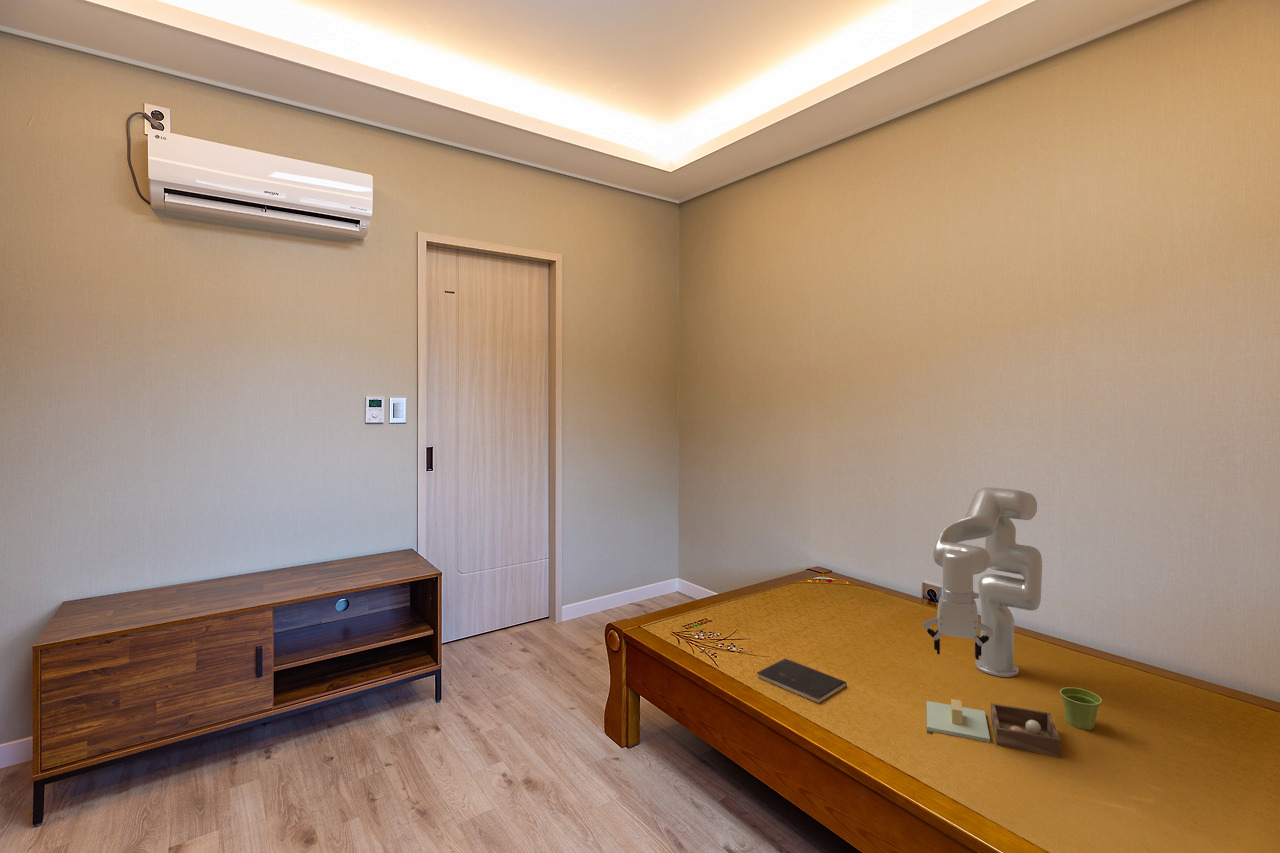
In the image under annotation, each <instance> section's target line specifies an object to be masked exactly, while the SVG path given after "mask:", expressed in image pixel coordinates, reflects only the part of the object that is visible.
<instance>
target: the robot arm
mask: <svg viewBox="0 0 1280 853" xmlns="http://www.w3.org/2000/svg"><path fill="white" fill-rule="evenodd" d="M1037 511H1038V502H1037V500H1036V497H1035V496H1034V495H1033V494H1032V493H1030V492H1026V491H1023V490H1019V489H1014V488H1013V489H1011V488H999V487H981V488H979V489H978V490H977V491H975V493H974V495H973V497H972V499H971V503H970V505H969V507H968V510H967V511H966V513H965V516H964V517H963V518H960V519H958V520H957V521H954V522H952V523H951V524H949V525H947V526H946V527H945V528H943V529H942V531H941V532H940V534H939V536H938V538H937V540H936V542H935V545H934V547H933V548H934V549H933V553H932V554H933V557H932V558H933V561H934V562H935V564H936V565H937V566H939V567H942V595H941V596H940V597H939V599H938V604H937V605H938V606H937V615H936V616H935V617H933V618H930V619H929V618H928V619H926V620H924V621H923V623H922V624H923V626H924V628H925V630H926V632H927V633H928V634H929V635H930V637H932V639H933V648H934V650H935V651H936V655H940V654H941V640H940V638H941V637H942V636H950V637H956V638H964V639H972V640H973V641H974V657H975V662H974V665H975V667H976V668H977V669H978V670H980V671H981V672H983V673H985V674H989V675H991V676H994V677H1000V678H1001V677H1003V678H1011V677H1013V678H1014V677H1015V676H1017V675H1019V672H1020V670H1019V667H1018V666H1017V664H1014V659H1015V658H1014V656H1015V655H1014V654H1015V652H1014V650H1015V649H1014V648H1015V647H1014V646H1015V618H1014V615H1013V613H1012V611H1011V610H1010V608H1014V609H1020V610H1025V611H1030V612H1031V611H1036V610H1038V609H1039V608H1040V606H1041V600H1042V578H1043V576H1042V575H1043V574H1042V573H1043V558H1042V554H1041V552H1040V550H1039V549H1038V548H1037V547H1034V546H1031V545H1025V544H1019V543H1017V542H1016V539H1017V537H1016V532H1017V529H1016V526H1015V524H1014V523H1013V520H1021V521H1031V520H1032V519H1034V518H1035V516H1036V514H1037ZM1012 519H1013V520H1012ZM983 538H985V544H984V546H985V547H984V548H983V547H981V546H977V545H971V544H965V543H961V542H964V541H973V540H977V539H983ZM988 569H991V570H994V571H999V572H1002V573H1003V572H1004V573H1007V574H1008V573H1010V574H1015V575H1020V576H1022V577H1023V578H1018V577H1013V576H1009V575H1004V574H1003V575H1002V574H996V573H986V574H983V575H982V576H981V577H980V578H979V580H978V583H977V584H978V586H977V587H978V592H975V591H974V575H978V574H982V573H984V572H985V571H987V570H988ZM975 599H979V600H980V621H979V615H978V614H979V613H978V607H977V601H976V600H975ZM1009 607H1010V608H1009ZM935 624H936V627H937V629H936V630H934V629H933V628H932V627H931V626H932V625H935ZM979 629H980V635H979Z"/></svg>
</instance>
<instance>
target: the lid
mask: <svg viewBox="0 0 1280 853" xmlns="http://www.w3.org/2000/svg"><path fill="white" fill-rule="evenodd" d="M926 704H927V715H926V731H927V730H928V731H933V733H937V732H938V734H942V733H943V735H947V734H949V736H953V735H954V737H958V736H959V738H963V737H964V738H965V739H968V738H969V740H973V739H974V741H978V740H980V742H984V741H985V742H984V743H989V742H990V743H991V738H990V732H989V727H988V721H987V718H986V712H985V710H982V709H975V708H971V707H965V706H962V700H959V699H954V698H951V699H950V704H946V703H941V702H937V701H932V700H931V701H929V700H926Z"/></svg>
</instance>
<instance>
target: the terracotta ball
mask: <svg viewBox="0 0 1280 853" xmlns="http://www.w3.org/2000/svg"><path fill="white" fill-rule="evenodd" d="M1009 729H1010V730H1016V731H1021V732H1024V731H1023V730H1022V729H1021V728H1020V727H1018V726H1011V727H1010V728H1009Z"/></svg>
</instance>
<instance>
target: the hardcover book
mask: <svg viewBox="0 0 1280 853" xmlns="http://www.w3.org/2000/svg"><path fill="white" fill-rule="evenodd" d="M756 674H757V675H758V677H759V678H758V679H761V680H764V681H765V680H766V681H765V682H767V681H768V683H770V684H772V683H773V684H772V685H774V684H775V686H777V687H779V686H780V688H781V687H782V689H784V690H786V691H788V690H789V692H791V693H793V694H795V693H796V695H798V696H800V695H801V697H802V696H803V697H802V698H805V699H807V698H808V699H807V700H809V699H810V700H809V701H811V700H812V702H814V703H816V702H817V703H816V704H820V703H822V702H823V701H825V700H826V699H827V698H828V699H829V697H831V696H832V695H834V694H836V693H837V692H838V691H841V690H842V689H844V688H846V687H847V681H845V680H842V679H840V678H837V677H835V676H832V675H829V674H828V673H824V672H822V671H819V670H817V669H814V668H811V667H808V666H807V665H806V666H805V665H804V664H801V663H800V662H796V661H793V660H791V659H787V658H783V659H781V660H779V661H777V662H774V664H773V663H772V664H771V665H769V666H767V667H765V668H763V669H761V670H759V671H758V672H756ZM819 702H820V703H819Z"/></svg>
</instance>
